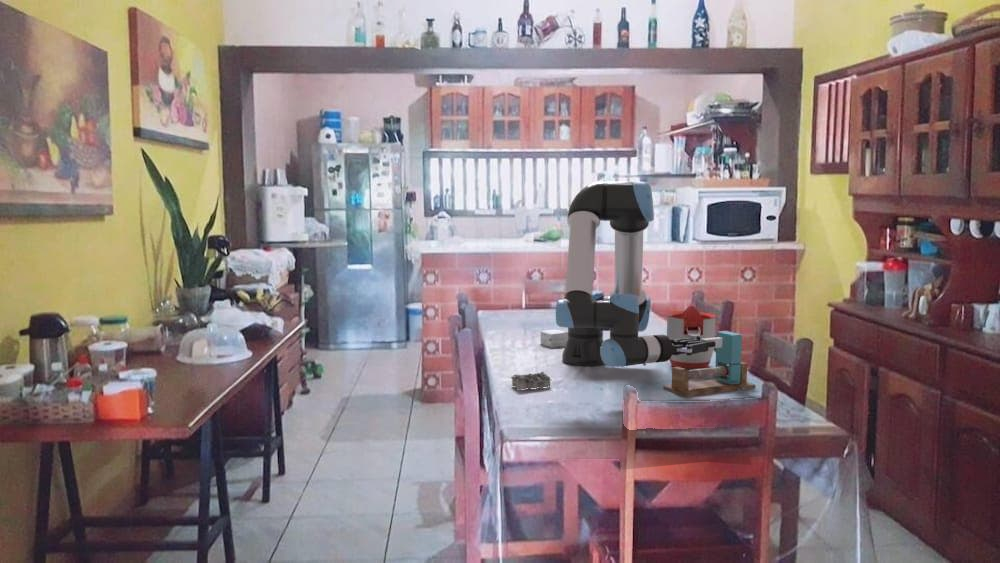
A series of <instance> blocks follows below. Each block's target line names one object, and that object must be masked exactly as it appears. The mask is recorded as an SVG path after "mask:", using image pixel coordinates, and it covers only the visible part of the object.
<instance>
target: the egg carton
mask: <svg viewBox="0 0 1000 563" xmlns="http://www.w3.org/2000/svg"><path fill="white" fill-rule="evenodd" d="M510 379H511V380H512V381H511V387H512V386H516V387H515V388H517V389H526V388H537V387H548V386H550V387H551V381H552V379H551V378H550V376H548V375H547V374H545V373H544V371H541V372H537V373H533V374H532V373H529V374H516V373H515V374H514V375H512V376H511V377H510Z"/></svg>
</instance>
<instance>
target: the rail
mask: <svg viewBox="0 0 1000 563" xmlns="http://www.w3.org/2000/svg"><path fill="white" fill-rule="evenodd" d="M728 375H729V365H728V364H727V366H720V367H716V366H714V367H711V366H710V367H706V368H702V369H686V368H684V369H683V368H680V367H675V366H672V367H671V384H667V385H666V384H664V385H663V386H662V389H664V390H666V391H668V392H672V393H675V394H677V395H679V396H682V397H686V398H687V397H693V396H694V397H695V396H701V395H709V394H710V395H711V394H716V393H723V392H725V393H726V392H730V391H732V392H733V391H738V389H740V390H744V389H743V388H747V389H751V388H750V387H755V388H756V384H754V383H751V382H748V378H747V377H748V363H747V362H744V361H741V373H740V384H732V385H730V384H727V383H724V382H721V381H718V380H715V377H719V376H728ZM708 378H711V379H708ZM712 378H713V379H712ZM701 379H706V380H701ZM707 379H708V380H707ZM693 380H697V381H693ZM698 380H699V381H698ZM690 381H691V382H690Z"/></svg>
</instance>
